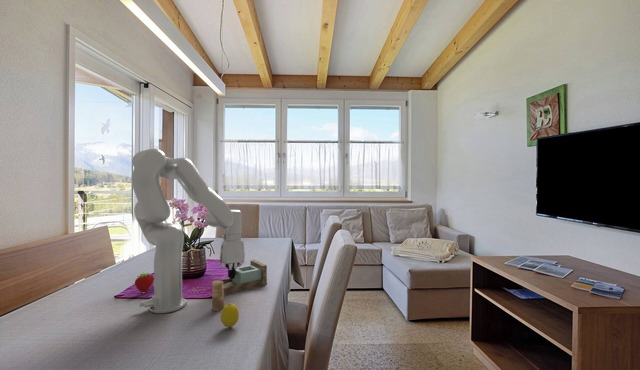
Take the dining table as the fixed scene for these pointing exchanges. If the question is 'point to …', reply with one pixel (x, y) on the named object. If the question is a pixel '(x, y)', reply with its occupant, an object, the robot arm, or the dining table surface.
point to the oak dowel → (217, 296)
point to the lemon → (229, 315)
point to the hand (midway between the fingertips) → (231, 277)
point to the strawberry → (144, 282)
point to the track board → (233, 287)
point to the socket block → (247, 274)
